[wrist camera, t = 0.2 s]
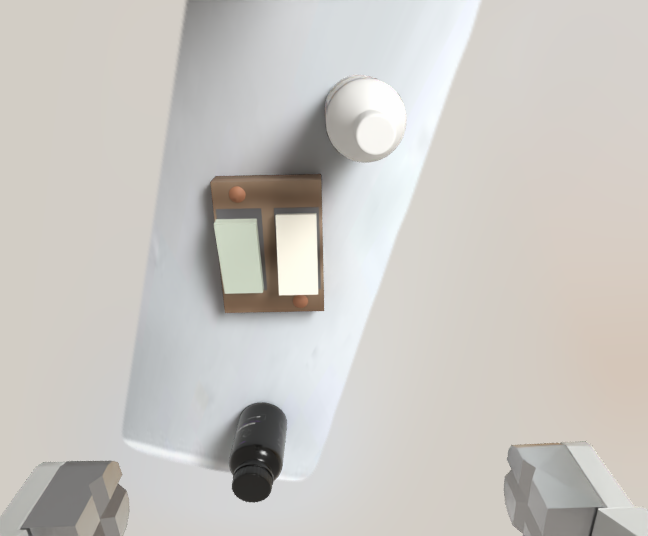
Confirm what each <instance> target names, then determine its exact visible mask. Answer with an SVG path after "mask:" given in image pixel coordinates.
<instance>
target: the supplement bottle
mask: <svg viewBox="0 0 648 536" xmlns="http://www.w3.org/2000/svg"><path fill="white" fill-rule="evenodd" d="M286 430H287V419H286V416H285V414H284V413H283V412H282V410H280V409H279V408H278V407H276V406H275V405H272V404H269V403H255V404H252V405H250V406H248V407H247V408H246V409H245V410H244V411H243V412H242V414H241V416H240V418H239V422H238V426H237V430H236V434H235V438H234V442H233V446H232V451H231V455H230V460H229V467H230V470H231V473H232V474H233V483H232V490H233V492H234V494H235V495H236V496H237V497H238V498H239V499H242V500H243V501H246V502H258V501H262V500H264V499H265V498H267V497H268V496H269V494H270V493H271V489H272V485H273V481H274V480H275V479H276V478H277V477H278V476H279V475H280V473H281V470H282V466H283V457H284V448H285V439H286Z"/></svg>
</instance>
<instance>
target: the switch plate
mask: <svg viewBox="0 0 648 536" xmlns="http://www.w3.org/2000/svg"><path fill="white" fill-rule="evenodd" d="M210 184H211V193H212V202H213V211H214V220H216V219H257V226H258V236H259V245H260V255H261V264H262V274H263V283H264V289H263V293H235V294H225V292H224V286H223V279H222V273H221V267H220V273H221V282H222V291H223V299H224V308H225V313H243V312H293V311H324V282H323V236H322V190H321V174H301V175H252V176H216V177H215V178H214V179H213V180H212V181H211V182H210ZM297 213H316V216H317V259H318V295H279V285H278V262H277V239H276V214H297ZM219 264H220V261H219Z"/></svg>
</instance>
